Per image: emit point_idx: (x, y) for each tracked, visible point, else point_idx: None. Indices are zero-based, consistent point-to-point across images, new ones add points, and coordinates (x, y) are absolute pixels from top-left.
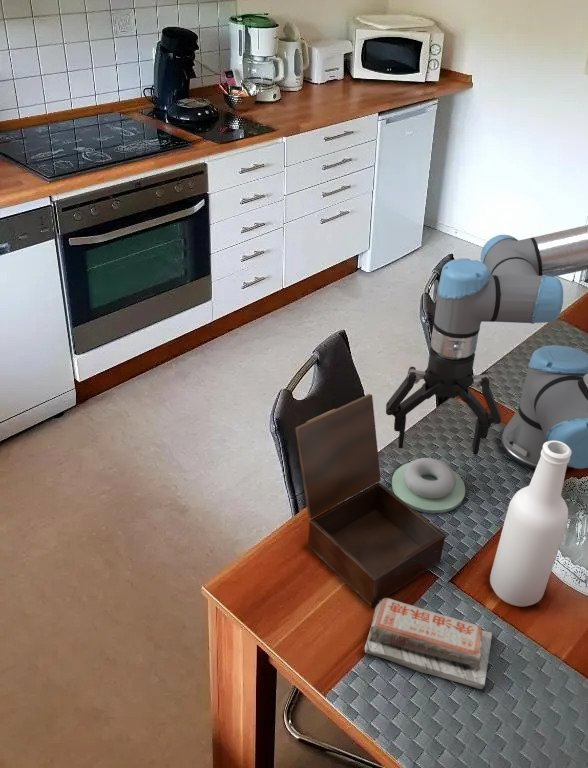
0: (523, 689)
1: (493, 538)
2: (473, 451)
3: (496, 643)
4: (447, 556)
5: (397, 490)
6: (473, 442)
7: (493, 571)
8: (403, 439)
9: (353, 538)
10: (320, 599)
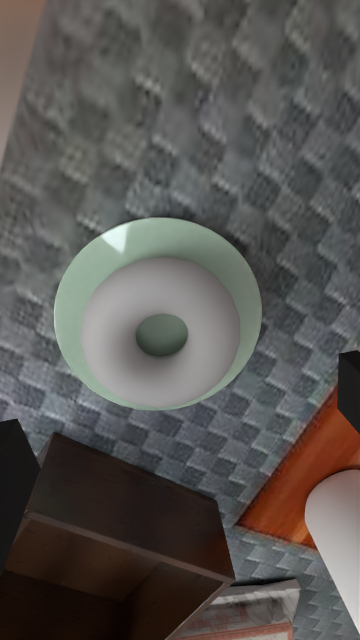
0: (329, 608)
1: (317, 417)
2: (341, 404)
3: (303, 578)
4: (228, 485)
5: (85, 376)
6: (355, 384)
7: (319, 551)
8: (22, 516)
9: (42, 525)
10: None
